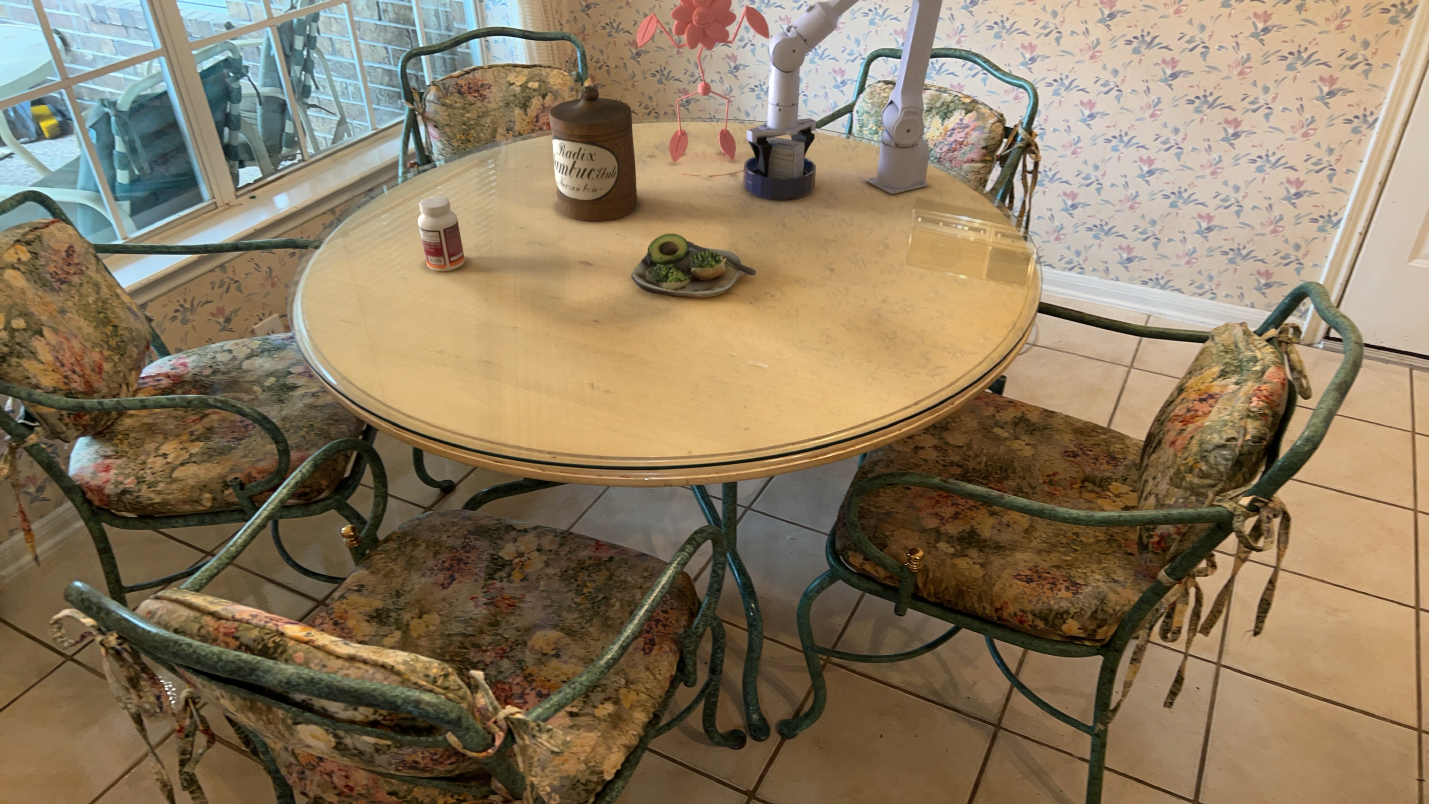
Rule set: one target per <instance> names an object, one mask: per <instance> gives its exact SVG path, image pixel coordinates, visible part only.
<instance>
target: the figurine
mask: <svg viewBox="0 0 1429 804" xmlns="http://www.w3.org/2000/svg"><path fill="white" fill-rule="evenodd" d="M678 1H679V3H680V4H679V5H677V6H675V7H674V8H673V9H672V10H671V12H670V14H669V15H670V18H671V19H673V20H674V21H675V22H674V25H673V27H672V34H673V36H675V37H681V36H684V39H685V40H684V41H685V42H684V43H681V44H678V43H676V41H675V39H673V37H672V36H671V34H670V33H669V31H667V29H666V27H665V26H663V24H662V22H661V21H660V20H659V19H658V17H657V16H656V13H655V12H652V13H651V14H650V15H647V16H646V17H645V18H644V19H643V20H642V22H640V24H639V26H638V28H637V31H636V43H637V46H638V48H639V49H642V48H643V47H644V46H645V45H646V44H647V43H649V42H650V41H651V40H652V38H653V37H654V35H655V34H656V32H657V31H656V30H657V28H658V26H659V27H660V29H661V30H662V31H663V33H664V34H665V36H666V37H668V39H669V40H670V42H671V43H672V44H673V46H674V47H676V49H680V48H683V47H686V48H688V50H695V49H697V48H698V46H699V44H700V45H701V46H700V48H699V50H698V52H697V53H698V54H697V56H696V60H697V64H698V67H699V71H700V76H701V79H702V82H700V83H699V84H698V86H697V90H696V91H694V92H692V93H689V94H687V95H685V96H683V97H680V98H677V99H676V109H677V110H676V111H677V119H678V129H677V130H675V131H674V133H673V134H672V135H671V138H670V140H669V143H668V144H669V145H668V146H669V147H668V151H669V155H670V158H671V160H672V163H676V162H677V161H678V160H679V159H680V158H682V157H683V156H684V154H685V152H686V151H687V149H688V145H689V138H688V136H689V135H688V133H687V131H686V130H685V129H682V124H681V115H680V103H679V101H681V100H684V99H686V98H689V97H692V96H694V95H696V94H699V95H700V96H703V97H706V96H709V95H710V93H711V94H713V95H716V96H718V97H720V98H722V99H725V100H726V111H725V121H724V128H721V129H720V130H719V132H718V144H719V147H720V149H721V155H724V154H725V155H726V156H727V158H729V159H730V160H732V161H734V159H735V157H736V150H737V145H736V140H735V138H734V135H733V134H732V133H731V132H730V130H729V129H727V128H728V117H729V105H730V99H729V98H728V97H727V96H724V95H722V94H721V93H720V94H719V93H717V92H716V91H713V90H712V86H711V84H710V83H709V82H707V81H706V79H705V74H704V70H703V66H702V62H701V55H702V52H703V49H705V50H708V51H712V50H713V49H714V48H715V46H716V45H717V43H718V44H729V45H730V44H731V45H734V42H735V41H736V37H737V35H738V33H739V31H740V28H741V26H742V23H743V21H744V19H746V22H747V24H748V25H749V27H750V28H751V29H752V30H753V32H754V33H756V34H758V35H759V36H761V37H763V38H764V39H767V40H769V39H770V29H769V24H768V22H767V20H766V18H765V16H764V15H763V14H762V13H761V12H760V11H759V10H758V9H756V8H755V7H753V6H750V5H748V4H746V5H744V8H743V9H744V10H743V11H742V14H741V16H740V19H739V22H738V24H737V26H736V28H735V31H734V33H733V36H732V38H731V40H729V39H730V31H729V30H728V29H727V28H728V27H730V26H732V25H733V24H734V23H735V22H736V20H737V14H736V13H734V12H733V11H731V10H730V9H731V8H732V3H733V2H732V1H733V0H678ZM651 154H652V155H653V154H654V152H652V153H651ZM741 172H744V169H742V170H738V171H735V172H731V173H725V174H723V176H727V175H732V174H734V175H737V174H739V173H741ZM682 175H683V176H691V177H700V175H697V174H688V173H687V174H686V173H682ZM718 176H719V177H720V176H722V174H715V175H714V174H713V175H709V178H714V177H718Z"/></svg>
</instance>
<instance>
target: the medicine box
mask: <svg viewBox="0 0 1429 804" xmlns="http://www.w3.org/2000/svg"><path fill="white" fill-rule="evenodd" d="M767 141H768V143H769V144H771V145H772V146H773V147H772V150H771V153H770V158H769V169H768V176H767V177H770V178H783V179H784V178H796V177H800V176H803V166H804V158H805V157H804V148H805V143H804V142H799V141H794V140H791V139H789V138H782V137H778V136H777V137H772V138H767ZM758 175H760V174H759V172H758ZM760 176H761V175H760Z"/></svg>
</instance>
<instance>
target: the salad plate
mask: <svg viewBox="0 0 1429 804" xmlns="http://www.w3.org/2000/svg"><path fill="white" fill-rule="evenodd" d="M757 273H758V272H757V270H755V269H754V268H751V267H749V266H746V265H745V264H743V261H742V259H741V258H740V257H739V256H738V255H737V254H735V253H734V252H732V251H730V250H725V249H717V248H708V247H703V246H700V245H698V244H695V243H694V242H692V241H689V240H687V239H686V238H685V237H683V235H680V234H676V233H665V234H661V235H659V236H658V237H656V238H654V239H653V240H652V241H651V242H650V244H649V245H648V246H647V252H646V253H645V255H644V257H643V258H642V259H641V260H640V262H639V263H638V264H637V266H635V267H634V269H633V271H632V272H631V275H630V276H631V279H632V281H633V282H634V283H635V284H636V285H637V286H638V287H639V288H640V289H641V290H643V291H645V292H649V293H651V294H655V295H661V296H662V295H664V296H669V297H673V298H674V297H675V298H698V299H709V298H714V297H717V296H721V295H724V294H726V293H728V292H729V291H730V290H731V289H732V287H733V286H734V285H735V284H736V281H738V279H740V278H741V277H742V276H755V275H757Z"/></svg>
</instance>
